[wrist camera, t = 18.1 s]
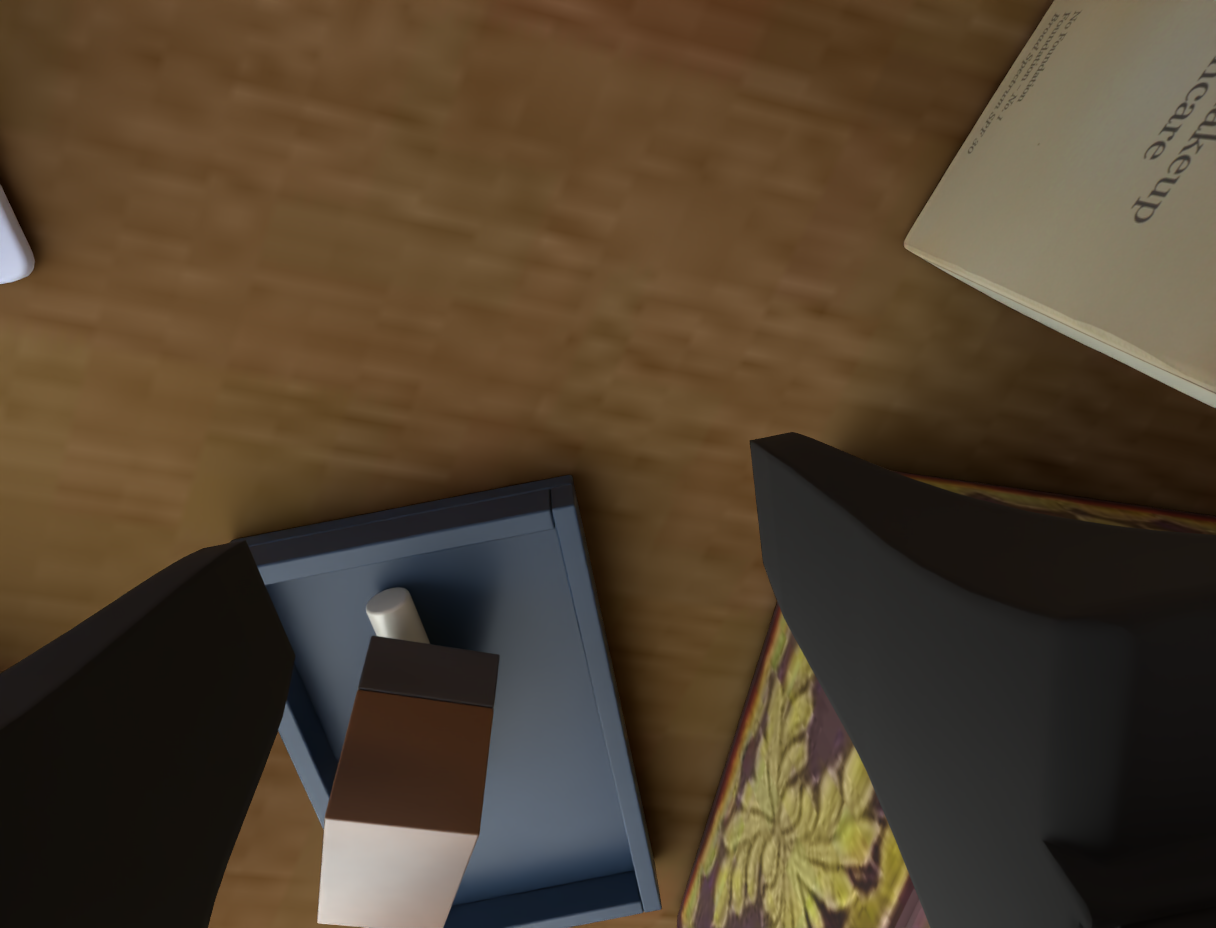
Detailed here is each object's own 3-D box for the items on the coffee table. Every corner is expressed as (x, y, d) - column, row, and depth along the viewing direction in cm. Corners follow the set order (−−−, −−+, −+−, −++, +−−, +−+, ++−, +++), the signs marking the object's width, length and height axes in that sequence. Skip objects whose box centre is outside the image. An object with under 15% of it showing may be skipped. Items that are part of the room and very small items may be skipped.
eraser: (463, 770, 25) (440, 934, 21) (356, 757, 24) (316, 923, 21) (500, 653, 20) (479, 835, 17) (371, 634, 20) (323, 818, 16)
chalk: (431, 665, 23) (395, 690, 22) (395, 580, 22) (357, 604, 21) (452, 682, 22) (415, 707, 22) (417, 594, 21) (376, 619, 20)
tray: (393, 913, 28) (384, 965, 26) (231, 539, 21) (205, 575, 20) (654, 862, 28) (662, 910, 26) (571, 473, 21) (574, 504, 20)
